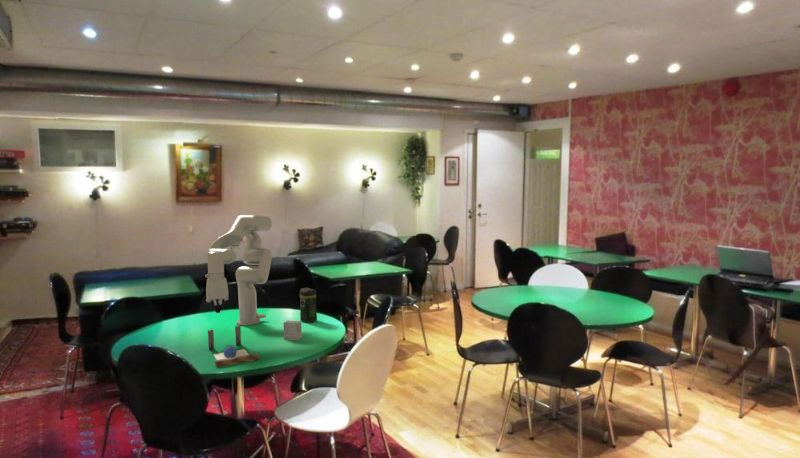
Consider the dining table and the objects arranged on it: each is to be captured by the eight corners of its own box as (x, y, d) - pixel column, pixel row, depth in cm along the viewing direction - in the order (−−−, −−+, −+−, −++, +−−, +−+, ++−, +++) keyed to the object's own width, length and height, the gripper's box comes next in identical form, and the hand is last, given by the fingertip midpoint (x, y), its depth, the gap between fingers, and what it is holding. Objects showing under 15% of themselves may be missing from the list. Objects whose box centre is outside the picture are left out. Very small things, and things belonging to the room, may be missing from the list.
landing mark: (244, 349, 256) (244, 349, 256) (251, 358, 244) (251, 357, 244) (213, 354, 249) (213, 354, 249) (219, 363, 237) (219, 363, 237)
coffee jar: (319, 321, 304) (318, 288, 302) (307, 324, 299) (306, 290, 297) (310, 318, 311) (309, 285, 310) (298, 320, 306) (297, 287, 305)
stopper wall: (257, 358, 243) (257, 353, 243) (258, 360, 241) (258, 354, 241) (215, 365, 234) (215, 360, 234) (216, 367, 233) (215, 361, 232)
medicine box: (302, 338, 273) (301, 321, 272) (297, 340, 269) (297, 323, 268) (288, 336, 276) (287, 320, 275) (283, 339, 271) (283, 322, 271)
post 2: (240, 343, 265) (239, 325, 264) (241, 345, 263) (241, 326, 262) (235, 344, 264) (234, 326, 263) (236, 345, 262) (235, 327, 261)
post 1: (213, 347, 259) (212, 329, 258) (214, 349, 257) (213, 330, 256) (208, 348, 258) (207, 330, 257) (209, 350, 256) (208, 331, 255)
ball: (235, 352, 248) (235, 342, 246) (237, 359, 244) (238, 349, 242) (222, 354, 246) (222, 344, 243) (225, 362, 241) (225, 351, 239)
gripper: (201, 278, 264) (203, 316, 265) (233, 275, 271) (234, 312, 272) (199, 276, 270) (200, 312, 272) (230, 273, 277) (231, 308, 279)
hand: (217, 312), depth 272 cm, fingers closed
